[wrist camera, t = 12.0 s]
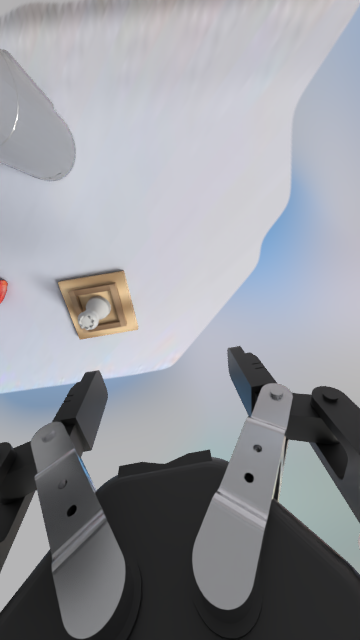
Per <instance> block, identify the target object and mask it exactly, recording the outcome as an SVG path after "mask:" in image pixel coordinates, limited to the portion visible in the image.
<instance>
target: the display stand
mask: <svg viewBox="0 0 360 640" xmlns="http://www.w3.org/2000/svg"><path fill="white" fill-rule="evenodd" d="M58 285H59V287H60V290H61V292H62V295H63V298H64V300H65V303H66V305H67V308H68V310H69V313H70V315H71V318H72V321H73V323H74V326H75V328H76V331H77V333H78V336H79V338H80V339H86V338H92V337H98V336H103V335H109V334H115V333H121V332H127V331H133V330H138V324H137V320H136V316H135V312H134V309H133V305H132V301H131V297H130V293H129V289H128V285H127V281H126V277H125V273H124V271H118V272H112V273H106V274H100V275H94V276H88V277H82V278H76V279H70V280H64V281H60V282H58ZM95 296H101V297H103V298H105V299H106V300H108V301H109V303H110V305H111V311H110V313H109V314H108V316H106V317H105V318H103V319H99V323H98V325H97V327H96V328H94V329H91V330H86V329H84V328H83V329H82V328H81V327H80V324H78V316H79V314H80V313H82V312H84V311H85V310H86V304H87V302H88V301H89V300H90V299H91V298H92V297H95Z"/></svg>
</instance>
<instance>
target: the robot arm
mask: <svg viewBox="0 0 360 640" xmlns="http://www.w3.org/2000/svg"><path fill="white" fill-rule="evenodd" d="M74 160H75V144H74V140H73V137H72V134H71V132H70V130H69V128H68V126H67V125H66V123H65V122H64V120H63V119H62V118H61V117H60V116H59V115H58V114H57V113H56V111H55V110H54V108H53V104H52V102H51V101H50V100H49V99H48V97H47V96H46V95H45V94H44V93H43V92H42V90H41V89H40V88H39V87H38V86H37V85H36V83H35V82H34V81H33V80H32V79H31V78H30V76H29V75H28V74H27V73H26V72H25V71H24V69H23V68H22V67H21V66H20V65H19V64H18V62H17V61H16V60H15V59H14V58H13V57H12V55H11V54H10V53H9V52H8V51H6V50H1V49H0V162H1V163H3V164H5V165H8V166H10V167H12V168H15V169H17V170H20V171H22V172H24V173H27V174H29V175H32V176H33V177H36V178H39V179H42V180H46V181H56V180H59V179H62V178H63V177H65V176H66V175H67V174H68V173H69V172H70V170H71V169H72V167H73V164H74ZM227 351H228V366H229V373H230V377H231V379H232V381H233V383H234V386H235V388H236V390H237V392H238V394H239V396H240V398H241V401H242V403H243V405H244V407H245V409H246V411H247V413H248V415H249V416H248V417H247V418H246V421H245V423H244V426H243V428H242V431H241V433H240V436H239V438H238V441H237V444H236V446H235V449H234V451H233V454H232V456H231V459H230V462H228V461H225V460H223V459H219V458H214V457H211V453H210V450H205V451H199V452H194V453H189V454H186V455H184V456H182V457H179V458H177V459H175V460H173V461H171V462H169V463H166V464H156V463H147V462H140V463H134V464H129V465H123V466H119V472H118V475H117V476H115V477H113V478H112V479H110V480H108V481H107V482H106V483H104V484H103V485H102V486H101V487H100V488H99V489H98V490H96V488H95V486H94V484H93V482H92V480H91V478H90V476H89V474H88V472H87V470H86V467H85V465H84V463H83V461H82V459H81V456H82V453H83V452H85V451H90V450H92V447H93V444H94V440H95V437H96V434H97V431H98V428H99V425H100V421H101V418H102V415H103V412H104V409H105V405H106V402H107V398H108V394H107V389H106V386H105V383H104V381H103V378H102V375H101V373H100V371H92V372H86V373H85V374H84V376H83V378H82V380H81V382H77V383H76V384H75V385H74V386H73V387H72V388H71V389H70V391H69V393H68V395H67V397H66V398H65V400H64V403H63V404H62V405H61V407H60V409H59V411H58V412H57V414H56V416H55V418H54V420H53V421H52V423H49V424H47V425H45V426H44V427H42V428H41V429H39V430H38V431H37V432H36V433H35V435H34V436H33V438H32V440H31V441H30V442H27V443H25V444H23V445H20V446H18V447H16V448H13V447H12V446H11V445H10V444H9V443H7V442H4V443H0V572H1V569H2V567H3V564H4V562H5V560H6V558H7V555H8V553H9V550H10V548H11V546H12V544H13V541H14V539H15V537H16V534H17V532H18V530H19V527H20V525H21V523H22V521H23V518H24V516H25V514H26V511H27V509H28V507H29V504H30V502H31V500H32V497H33V495H34V493H35V490H37V491H38V496H39V500H40V505H41V509H42V513H43V518H44V522H45V527H46V531H47V536H48V540H49V544H50V550H49V551H48V553H47V554H46V555H45V556H44V558H43V559H42V560H41V562H40V563H39V564H38V565H37V567H36V568H35V569H34V570H33V572H32V573H31V574H30V576H29V577H28V578H27V579H26V581H25V582H24V583H23V584H22V586H21V587H20V588H19V590H18V591H17V592H16V593H15V595H14V596H13V597H12V599H11V600H10V601H9V602H8V604H7V605H6V606H5V607H4V609H3V610H2V611H1V612H0V640H360V574H359V573H358V572H357V571H356V570H355V569H354V568H353V567H352V566H351V565H350V564H349V563H348V562H347V561H346V560H345V559H344V558H343V557H341V556H340V555H339V554H338V553H337V552H336V551H334V550H333V549H332V548H331V547H330V546H329V545H327V544H326V543H325V542H324V541H323V540H322V539H320V538H319V537H318V536H317V535H316V534H315V533H314V532H312V531H311V530H310V529H309V528H308V527H307V526H305V525H304V524H303V523H302V522H301V521H300V520H298V519H297V518H296V517H295V516H294V515H293V514H292V513H290V512H289V511H288V510H287V509H286V508H285V507H283V506H282V505H281V504H280V503H279V497H280V490H281V484H282V483H281V482H282V476H283V470H284V464H285V458H286V452H287V447H288V441H289V439H290V440H297V441H305V442H309V443H310V444H311V446H312V448H313V449H314V451H315V452H316V454H317V456H318V457H319V459H320V460H321V462H322V464H323V465H324V467H325V468H326V470H327V472H328V473H329V475H330V476H331V478H332V480H333V481H334V483H335V484H336V486H337V488H338V489H339V490H340V492H341V494H342V496H343V497H344V499H345V500H346V502H347V504H348V505H349V507H350V508H351V510H352V512H353V513H354V515H355V516H356V518H357V519H358V521H359V522H360V408H359V407H357V406H356V405H355V404H354V403H353V402H352V401H351V400H350V399H349V398H348V397H347V396H346V395H345V394H344V393H342V392H341V391H339V390H337V389H335V388H331V387H326V386H320V387H317V388H315V389H314V390H313V391H312V395H308V394H296V393H292V392H291V391H290V390H289V389H288V388H287V387H285V386H283V385H281V384H277V382H276V381H275V380H274V379H273V377H272V376H271V375H270V373H269V372H268V371H267V369H266V368H265V367H264V365H263V364H262V363H261V361H260V360H259V359H258V357H257V356H255V355H253V354H252V353H244V351H243V350H242V348H241V347H240V346H237V347H232V348H228V350H227ZM358 544H359V549H360V534H359V538H358Z"/></svg>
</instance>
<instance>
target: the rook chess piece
mask: <svg viewBox="0 0 360 640" xmlns="http://www.w3.org/2000/svg"><path fill="white" fill-rule="evenodd" d="M110 311H111V305H110V303H109V301H108V300H106V299H105V298H103V297H101V296H95V297H92V298H91V299H90V300H89V301H88V302H87V304H86V310H85V311H84V312H82V313H80V314H79V316H78V324H80V327H81V328H82V329H83V328H84V329H86V330H91V329H94V328H96V327H97V325H98V323H99V319H103V318H105V317H106V316H108V314H109V313H110Z"/></svg>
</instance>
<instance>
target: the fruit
mask: <svg viewBox="0 0 360 640" xmlns="http://www.w3.org/2000/svg"><path fill="white" fill-rule="evenodd" d="M7 285H8V283H7V282H6V281H4V280H0V303H1V302H2V301H3V299H4V297H5V294H6V291H7Z"/></svg>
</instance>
